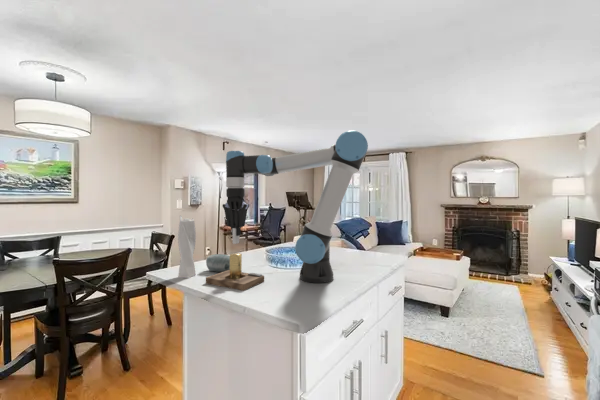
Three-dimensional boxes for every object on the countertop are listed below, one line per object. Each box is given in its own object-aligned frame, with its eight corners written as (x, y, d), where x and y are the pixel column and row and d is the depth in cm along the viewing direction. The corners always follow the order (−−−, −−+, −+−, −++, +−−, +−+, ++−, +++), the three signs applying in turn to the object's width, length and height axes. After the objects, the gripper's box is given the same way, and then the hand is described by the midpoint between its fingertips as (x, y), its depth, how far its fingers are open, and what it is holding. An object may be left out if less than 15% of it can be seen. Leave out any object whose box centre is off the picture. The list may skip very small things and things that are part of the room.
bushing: (243, 281, 125) (244, 253, 125) (236, 284, 120) (236, 255, 120) (234, 280, 127) (234, 252, 127) (226, 283, 122) (227, 254, 122)
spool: (239, 262, 146) (230, 247, 142) (231, 275, 137) (222, 259, 134) (218, 266, 150) (208, 251, 147) (209, 279, 142) (199, 264, 139)
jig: (264, 281, 125) (264, 274, 125) (243, 290, 113) (243, 282, 113) (228, 275, 134) (228, 268, 134) (205, 283, 122) (205, 276, 122)
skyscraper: (173, 277, 130) (173, 215, 130) (184, 273, 138) (184, 214, 137) (188, 279, 128) (188, 215, 128) (199, 274, 135) (199, 214, 135)
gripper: (253, 187, 123) (253, 243, 124) (229, 188, 129) (230, 241, 130) (242, 187, 117) (242, 245, 117) (217, 188, 123) (218, 243, 123)
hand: (236, 243), depth 123 cm, fingers closed
